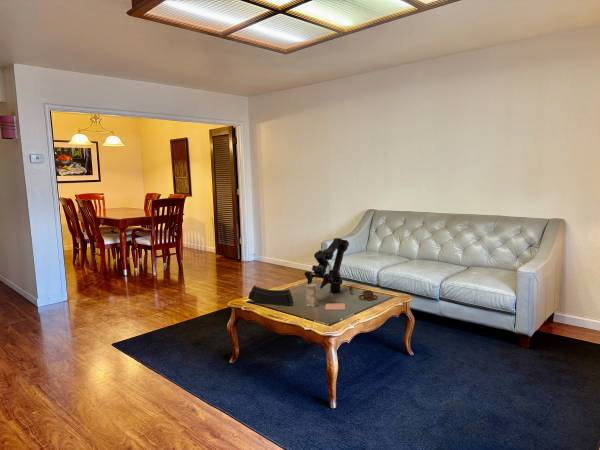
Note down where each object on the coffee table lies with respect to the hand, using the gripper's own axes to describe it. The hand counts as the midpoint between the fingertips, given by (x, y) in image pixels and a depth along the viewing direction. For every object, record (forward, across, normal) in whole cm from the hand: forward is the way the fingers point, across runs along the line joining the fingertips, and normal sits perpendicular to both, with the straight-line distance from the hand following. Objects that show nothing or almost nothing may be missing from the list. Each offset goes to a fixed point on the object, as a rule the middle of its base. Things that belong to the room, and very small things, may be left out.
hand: (314, 287), depth 261 cm
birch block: (+10, 0, +5) cm, 11 cm away
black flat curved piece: (+17, -25, -1) cm, 30 cm away
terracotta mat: (+8, +15, +7) cm, 18 cm away
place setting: (-13, +23, +29) cm, 39 cm away
